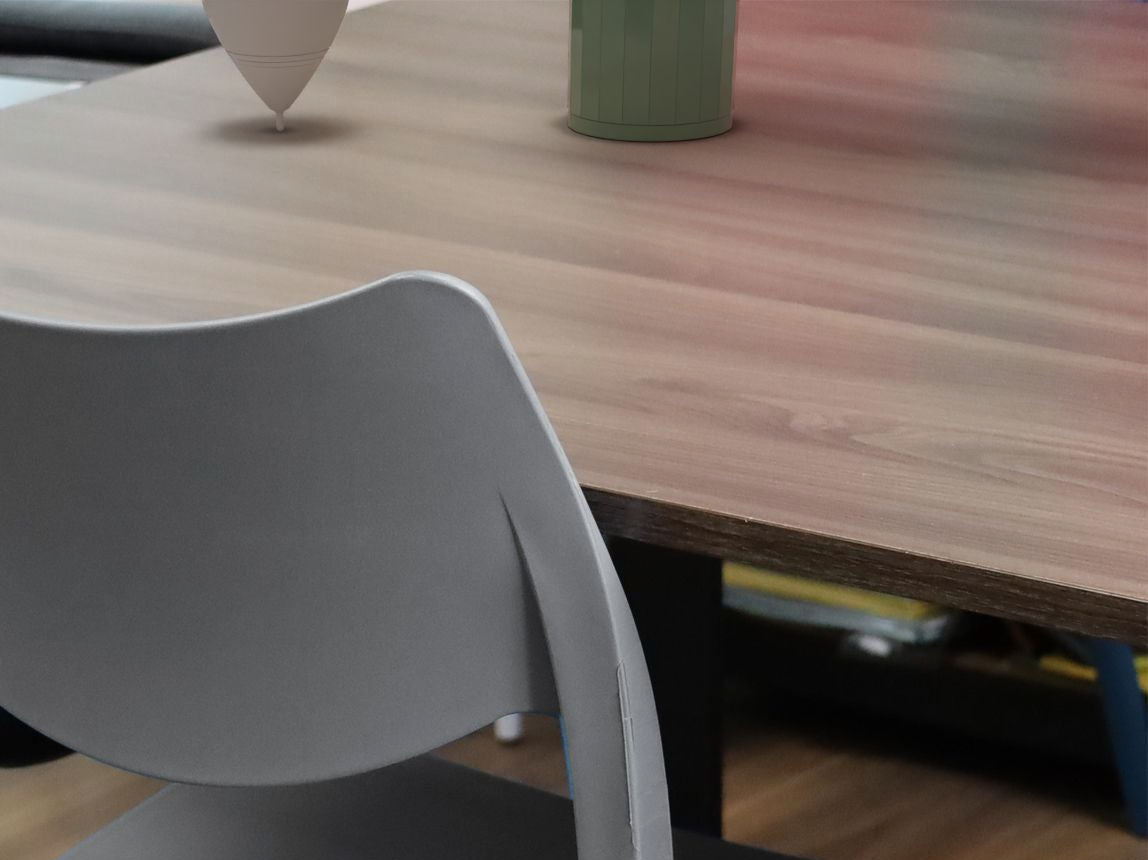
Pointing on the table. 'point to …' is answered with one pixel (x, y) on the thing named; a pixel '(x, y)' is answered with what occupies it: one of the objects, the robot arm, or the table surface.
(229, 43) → the spinning top
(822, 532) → the table surface
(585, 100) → the green cylinder
